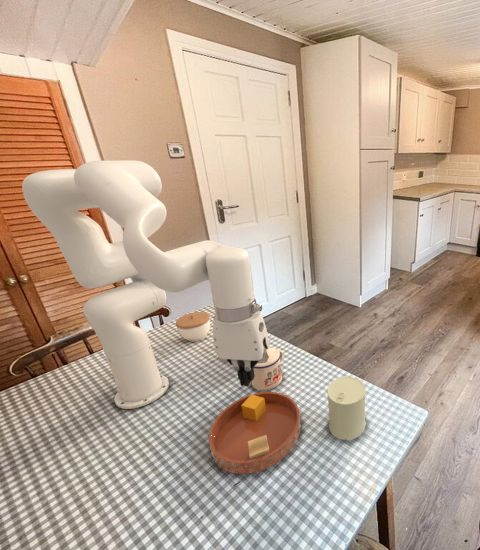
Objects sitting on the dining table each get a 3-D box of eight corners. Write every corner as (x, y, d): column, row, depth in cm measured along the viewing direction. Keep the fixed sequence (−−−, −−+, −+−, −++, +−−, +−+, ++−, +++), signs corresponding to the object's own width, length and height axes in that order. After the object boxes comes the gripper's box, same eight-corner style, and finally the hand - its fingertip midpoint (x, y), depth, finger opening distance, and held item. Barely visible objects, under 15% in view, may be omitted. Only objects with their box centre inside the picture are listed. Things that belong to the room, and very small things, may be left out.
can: (322, 434, 73) (319, 396, 69) (339, 407, 81) (337, 371, 77) (356, 447, 70) (356, 407, 66) (371, 417, 78) (371, 380, 74)
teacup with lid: (268, 396, 85) (264, 362, 81) (244, 386, 89) (238, 353, 84) (295, 370, 95) (292, 339, 91) (272, 362, 99) (268, 332, 94)
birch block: (249, 454, 68) (247, 441, 66) (268, 447, 69) (266, 434, 68) (251, 469, 65) (249, 456, 63) (271, 462, 66) (269, 449, 65)
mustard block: (253, 405, 81) (251, 394, 79) (266, 409, 80) (264, 397, 78) (243, 417, 77) (241, 405, 76) (256, 421, 76) (254, 409, 75)
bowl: (201, 431, 74) (198, 419, 73) (278, 392, 86) (276, 381, 85) (229, 496, 60) (226, 483, 59) (316, 438, 72) (315, 426, 71)
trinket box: (192, 328, 118) (187, 307, 114) (218, 330, 117) (214, 308, 113) (173, 344, 108) (167, 321, 104) (201, 346, 107) (196, 323, 103)
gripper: (278, 302, 64) (285, 372, 71) (210, 298, 64) (223, 368, 71) (265, 320, 57) (274, 396, 64) (188, 316, 57) (205, 391, 64)
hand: (247, 381), depth 67 cm, fingers closed
